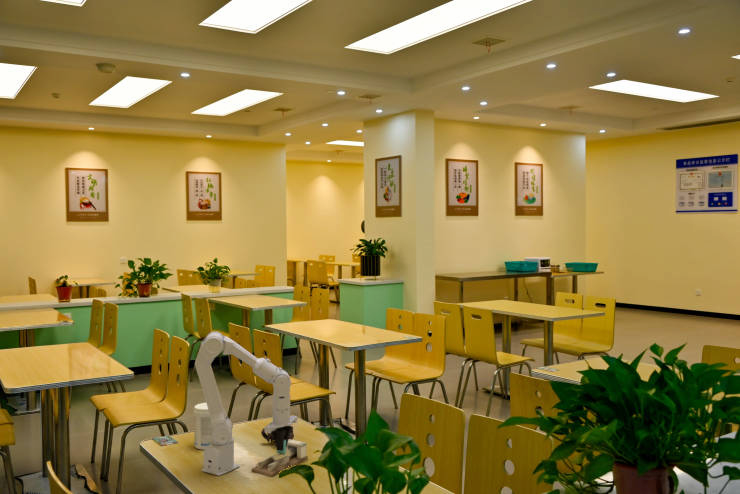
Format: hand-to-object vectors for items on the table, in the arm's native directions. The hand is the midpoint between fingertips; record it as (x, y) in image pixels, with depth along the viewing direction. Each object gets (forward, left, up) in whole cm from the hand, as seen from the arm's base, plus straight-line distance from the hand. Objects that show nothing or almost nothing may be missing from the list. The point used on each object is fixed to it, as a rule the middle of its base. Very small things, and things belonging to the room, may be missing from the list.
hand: (281, 449), depth 210 cm
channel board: (-1, 0, -5) cm, 5 cm away
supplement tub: (0, +34, -6) cm, 34 cm away
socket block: (+7, 0, -4) cm, 8 cm away
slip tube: (+3, 0, -4) cm, 5 cm away
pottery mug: (+15, +14, -6) cm, 22 cm away
